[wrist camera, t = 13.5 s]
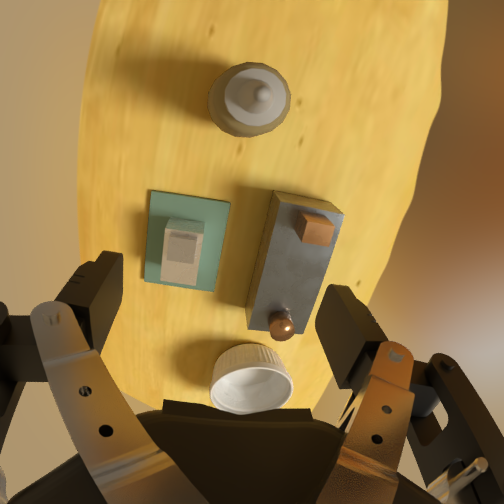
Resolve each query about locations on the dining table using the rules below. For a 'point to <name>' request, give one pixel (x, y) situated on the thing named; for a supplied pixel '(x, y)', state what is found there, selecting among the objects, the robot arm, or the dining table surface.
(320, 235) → the plane body
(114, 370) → the dining table surface
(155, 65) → the dining table surface
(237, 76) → the squeeze bottle
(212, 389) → the ramekin
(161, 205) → the mat
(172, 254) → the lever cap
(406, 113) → the dining table surface
